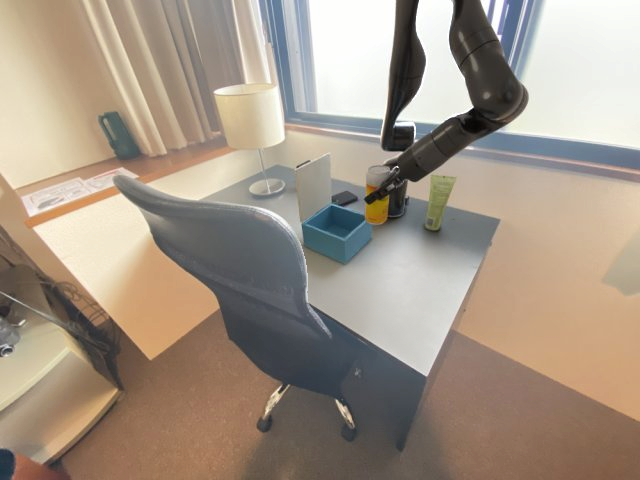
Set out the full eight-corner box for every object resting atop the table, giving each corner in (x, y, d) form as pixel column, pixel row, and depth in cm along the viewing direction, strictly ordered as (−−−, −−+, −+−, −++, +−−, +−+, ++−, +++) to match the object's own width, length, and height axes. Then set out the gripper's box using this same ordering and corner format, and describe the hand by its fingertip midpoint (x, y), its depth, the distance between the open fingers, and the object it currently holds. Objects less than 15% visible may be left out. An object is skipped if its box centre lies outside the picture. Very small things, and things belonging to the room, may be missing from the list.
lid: (330, 152, 86) (317, 150, 89) (296, 170, 76) (283, 166, 79) (331, 202, 97) (320, 198, 99) (301, 222, 87) (290, 218, 90)
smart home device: (308, 204, 113) (346, 190, 121) (308, 207, 114) (346, 193, 122) (319, 212, 107) (358, 196, 115) (319, 215, 108) (358, 200, 116)
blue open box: (371, 238, 94) (372, 216, 88) (344, 264, 84) (344, 241, 79) (331, 224, 103) (330, 203, 97) (304, 245, 93) (301, 223, 88)
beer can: (386, 226, 73) (391, 174, 64) (364, 225, 74) (365, 174, 65) (386, 214, 78) (391, 164, 69) (365, 213, 79) (367, 164, 70)
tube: (434, 221, 99) (445, 170, 88) (444, 228, 96) (457, 176, 84) (421, 225, 98) (431, 174, 86) (430, 232, 94) (442, 180, 83)
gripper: (420, 134, 65) (370, 174, 77) (404, 155, 55) (350, 197, 67) (439, 158, 66) (387, 194, 78) (427, 183, 56) (370, 219, 68)
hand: (371, 195), depth 72 cm, fingers closed on beer can, 6 cm apart
